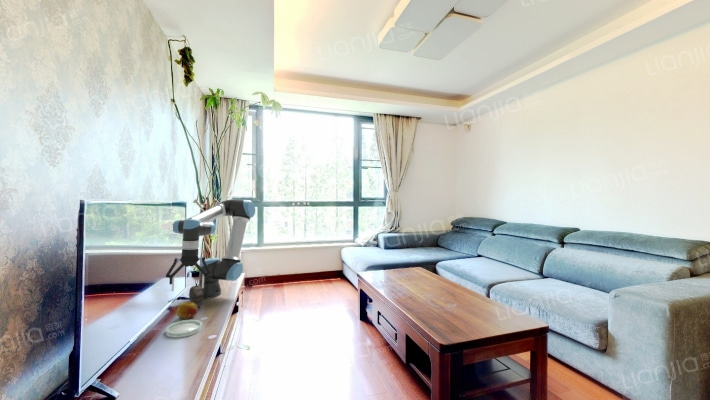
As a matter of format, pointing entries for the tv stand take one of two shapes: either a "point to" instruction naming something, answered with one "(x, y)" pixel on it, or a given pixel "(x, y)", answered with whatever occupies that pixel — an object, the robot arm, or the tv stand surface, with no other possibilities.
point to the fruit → (187, 310)
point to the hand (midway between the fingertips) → (188, 289)
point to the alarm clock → (196, 294)
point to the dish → (183, 328)
